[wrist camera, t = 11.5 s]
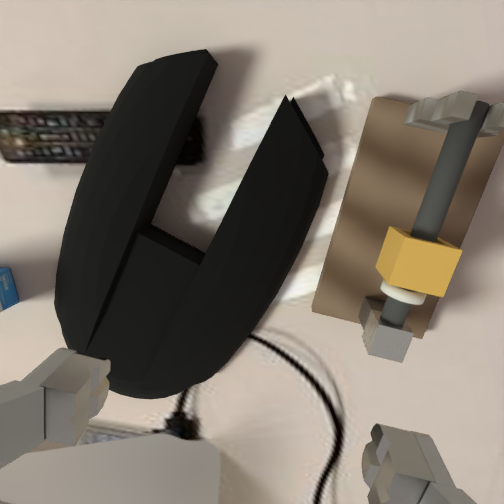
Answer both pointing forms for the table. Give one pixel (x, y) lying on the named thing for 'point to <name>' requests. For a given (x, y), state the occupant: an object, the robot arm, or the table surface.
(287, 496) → the table surface
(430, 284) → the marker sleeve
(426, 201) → the dark grey rod
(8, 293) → the ink box
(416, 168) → the slider rail assembly
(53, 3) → the table surface
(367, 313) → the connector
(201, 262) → the black u-shaped plate
